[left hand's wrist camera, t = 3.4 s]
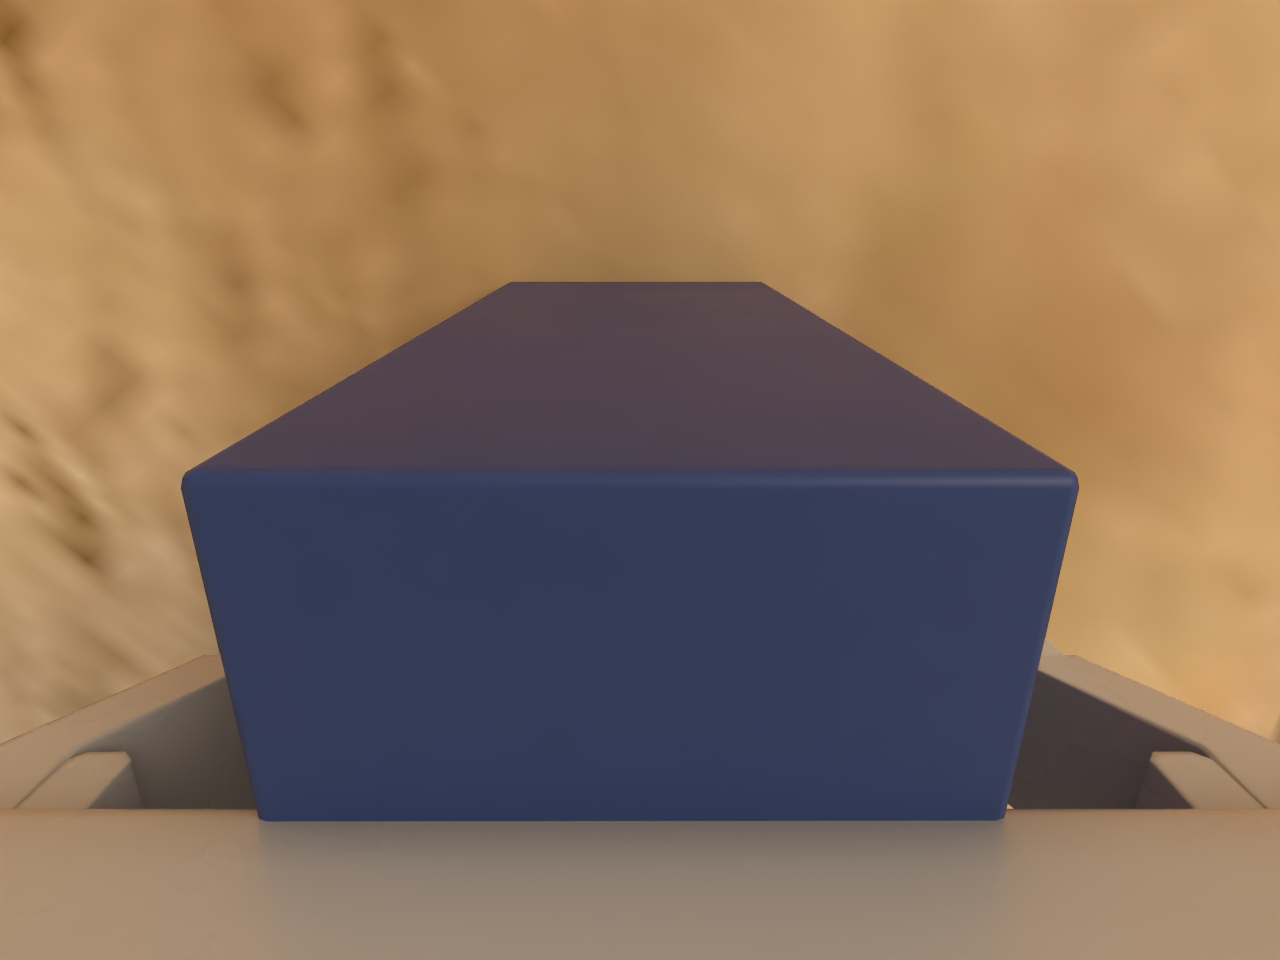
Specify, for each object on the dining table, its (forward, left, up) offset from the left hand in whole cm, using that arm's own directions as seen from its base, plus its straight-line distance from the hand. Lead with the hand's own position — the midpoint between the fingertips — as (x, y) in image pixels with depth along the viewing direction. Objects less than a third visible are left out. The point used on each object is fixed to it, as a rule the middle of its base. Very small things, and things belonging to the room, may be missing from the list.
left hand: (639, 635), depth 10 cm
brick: (0, 0, -6) cm, 6 cm away
